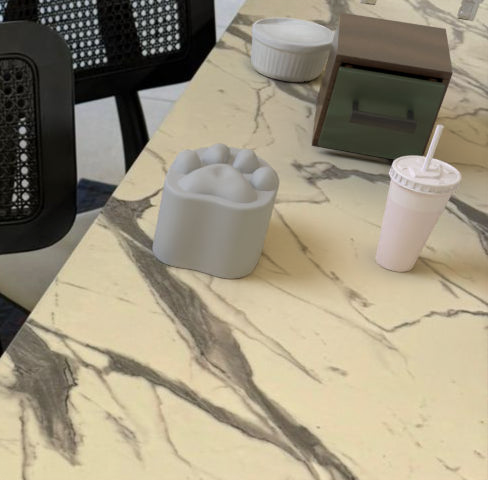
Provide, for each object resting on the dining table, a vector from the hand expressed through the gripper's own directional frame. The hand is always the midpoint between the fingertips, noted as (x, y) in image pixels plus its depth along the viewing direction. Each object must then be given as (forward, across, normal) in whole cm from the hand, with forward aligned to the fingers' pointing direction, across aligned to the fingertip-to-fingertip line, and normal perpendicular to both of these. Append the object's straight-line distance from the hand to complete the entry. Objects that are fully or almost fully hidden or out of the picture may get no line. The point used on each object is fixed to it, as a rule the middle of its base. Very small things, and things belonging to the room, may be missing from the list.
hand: (415, 10), depth 101 cm
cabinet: (+19, 0, -16) cm, 25 cm away
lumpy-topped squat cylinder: (+19, +14, +20) cm, 31 cm away
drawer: (+18, 0, -11) cm, 21 cm away
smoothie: (+19, -4, +16) cm, 25 cm away
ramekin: (+19, +11, -32) cm, 39 cm away
